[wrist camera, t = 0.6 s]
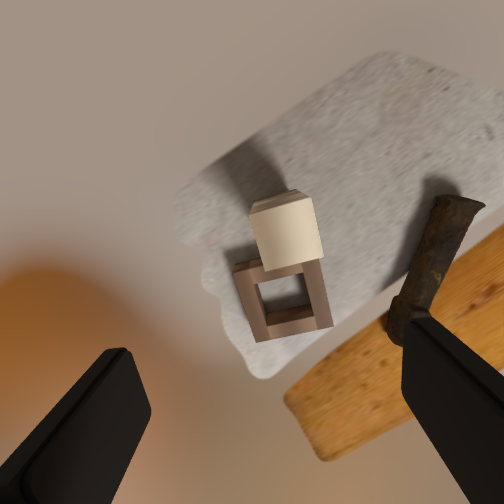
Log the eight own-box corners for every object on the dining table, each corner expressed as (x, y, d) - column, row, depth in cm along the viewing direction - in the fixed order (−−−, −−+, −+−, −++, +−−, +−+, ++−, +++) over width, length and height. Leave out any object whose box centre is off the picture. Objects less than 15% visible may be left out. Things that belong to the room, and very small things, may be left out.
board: (312, 244, 30) (317, 251, 27) (327, 313, 33) (333, 326, 30) (235, 264, 31) (232, 273, 28) (256, 328, 34) (255, 342, 31)
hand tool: (431, 190, 28) (462, 194, 23) (464, 199, 28) (502, 204, 23) (366, 327, 33) (382, 351, 29) (394, 334, 34) (414, 358, 29)
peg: (292, 187, 28) (311, 196, 17) (301, 225, 29) (324, 257, 18) (254, 198, 29) (247, 214, 17) (265, 235, 30) (264, 272, 19)
